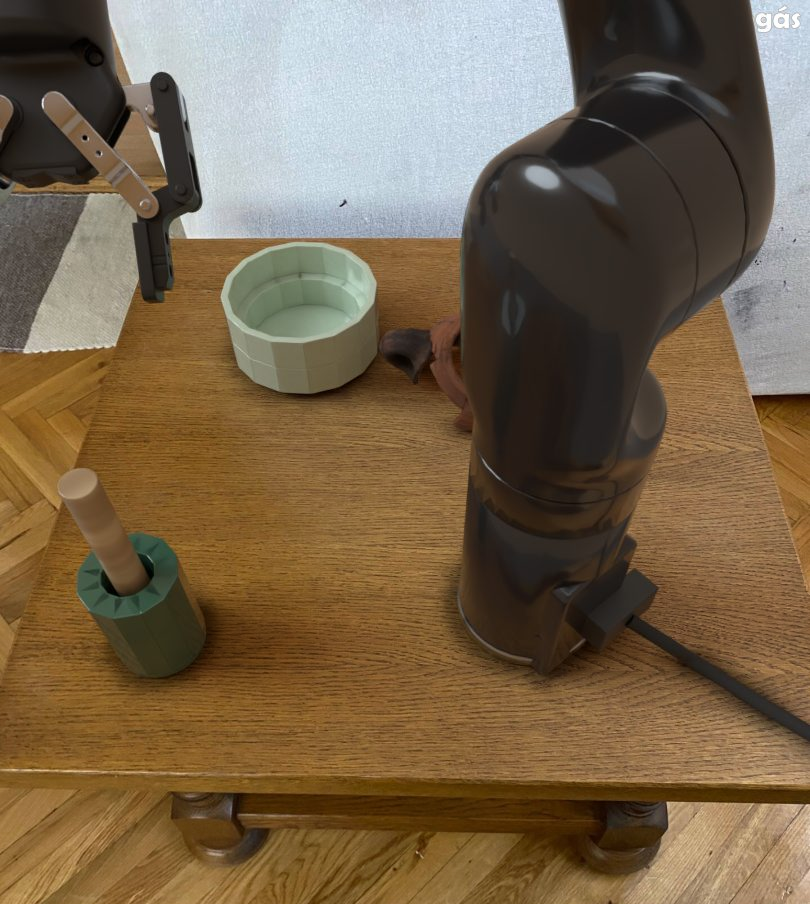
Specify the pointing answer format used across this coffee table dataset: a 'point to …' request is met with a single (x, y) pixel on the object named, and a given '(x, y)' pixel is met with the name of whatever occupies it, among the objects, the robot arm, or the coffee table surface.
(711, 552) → the coffee table surface
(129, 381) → the coffee table surface
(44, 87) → the robot arm
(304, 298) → the bowl
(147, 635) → the utensil pot
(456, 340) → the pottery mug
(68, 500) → the stick
